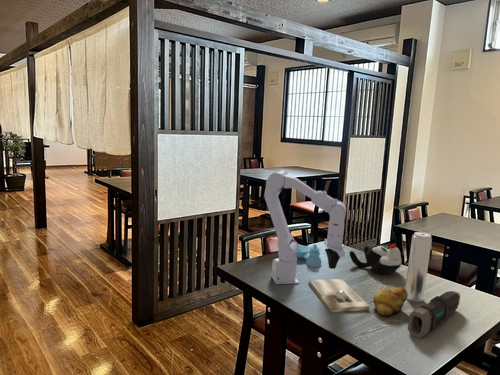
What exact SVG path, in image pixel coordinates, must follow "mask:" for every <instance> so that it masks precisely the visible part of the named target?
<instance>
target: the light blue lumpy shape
mask: <svg viewBox="0 0 500 375" xmlns="http://www.w3.org/2000/svg"><path fill="white" fill-rule="evenodd" d="M298 246H299V250H298V252H297V253H296V257H297V259H302V258H303V257H305V256H306V255H307V254H309V255H308V256H307V257H306V259H305V260H306V261H305V264H306V265H307V266H309V267H315V268H317V267H321V265H322V259H321V258H320V256H321V252H320V250H321V249H320V247H319V246H318V244H313V245H312V246H310V247H309V246H306V245H300V244H298Z"/></svg>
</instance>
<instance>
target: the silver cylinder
mask: <svg viewBox="0 0 500 375" xmlns="http://www.w3.org/2000/svg"><path fill="white" fill-rule="evenodd" d="M432 240H433V238H432V235H431V234H429V233H426V232H418V231H415V232H414V233H413V234H412V236H411V243H410V251H409V258H408V265H407V272H406V280H405V287H404V289H405V290H406V291H407V293H408V296H407V299H406V300H408V301H411V302H413V303H422V302H423V301H424V297H425V296H424V295H425V289H426V282H427V281H426V280H427V276H428V269H429V268H428V267H429V262H430V254H431V250H432V249H431V247H432V242H433V241H432Z"/></svg>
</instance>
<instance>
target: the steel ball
mask: <svg viewBox="0 0 500 375" xmlns="http://www.w3.org/2000/svg"><path fill="white" fill-rule="evenodd" d="M335 299H336V300H337V301H338V302H339V303H343V302H346V300H347V299H346V294H345V292H343V291H337V292H336V293H335Z"/></svg>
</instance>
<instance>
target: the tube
mask: <svg viewBox="0 0 500 375" xmlns="http://www.w3.org/2000/svg"><path fill="white" fill-rule="evenodd" d="M460 300H461V295H460V293H459V292H457V291H454V290H448V291H445V292H444V293H442V294H440V295H436V296H435V297H433V298H432V299H430V300H429V302H428V303H426V304H425V303H424V304H422V305H420V306H419V307H418V308H416V309H414V310H413V311H411V313H409V317H408V322H407V330H408V332H409V334H410V335H411V336H413V337H415V338H417V339H422V337H424V336H426V335H427V334H428V333H429V334H430V332H432V331H433V330H435V329H436V326H440V325H441V324H443V323H444V322H445V321H447V320H448V318H449V316H451V315H452V314H454V313H455V312H456V310H457V309H458V308H459V305H460Z"/></svg>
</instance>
